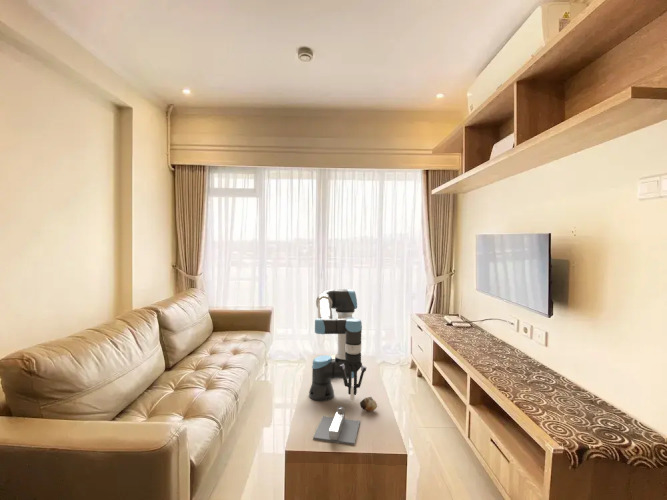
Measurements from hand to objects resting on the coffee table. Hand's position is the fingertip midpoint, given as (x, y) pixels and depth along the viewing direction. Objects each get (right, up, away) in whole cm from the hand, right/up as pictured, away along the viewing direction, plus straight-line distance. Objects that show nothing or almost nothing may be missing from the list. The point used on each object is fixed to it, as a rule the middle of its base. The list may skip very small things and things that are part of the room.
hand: (352, 400), depth 163 cm
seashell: (+11, -18, +28) cm, 35 cm away
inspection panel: (-7, -19, +8) cm, 21 cm away
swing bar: (-7, -17, +8) cm, 20 cm away
